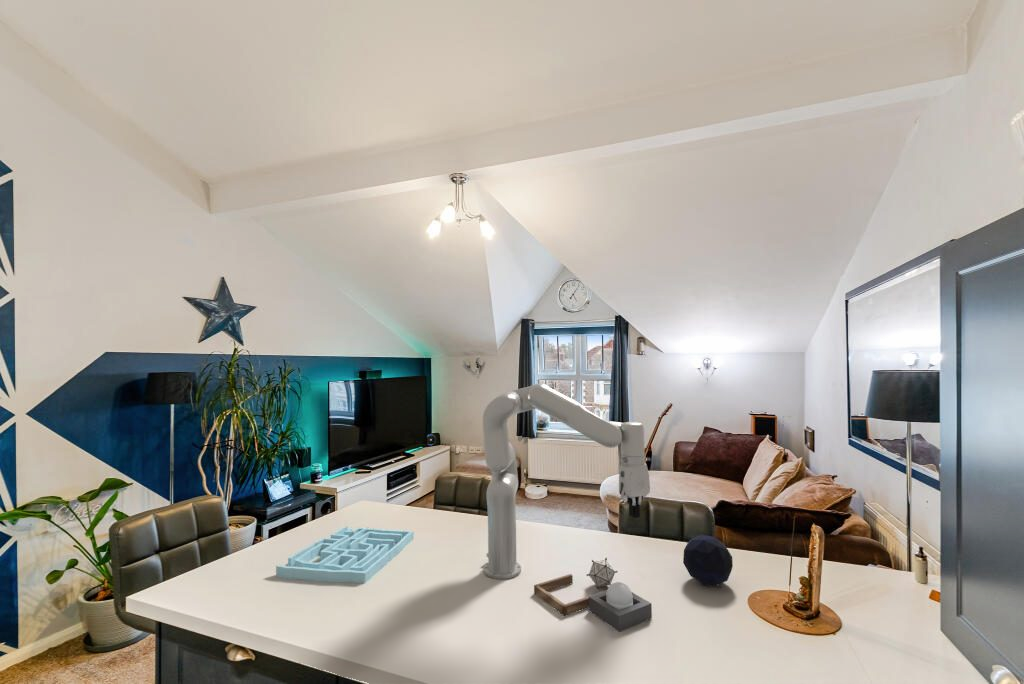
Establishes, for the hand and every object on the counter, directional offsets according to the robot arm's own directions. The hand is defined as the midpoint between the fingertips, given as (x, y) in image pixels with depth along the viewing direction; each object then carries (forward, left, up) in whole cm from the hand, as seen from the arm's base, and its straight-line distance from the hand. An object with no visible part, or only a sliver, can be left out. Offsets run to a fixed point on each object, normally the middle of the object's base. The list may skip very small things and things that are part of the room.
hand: (634, 516), depth 151 cm
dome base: (+14, -21, -19) cm, 32 cm away
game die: (-1, -14, -20) cm, 24 cm away
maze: (-68, -76, -20) cm, 104 cm away
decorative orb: (+15, +16, -20) cm, 29 cm away
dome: (+14, -21, -18) cm, 31 cm away
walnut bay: (-1, -27, -19) cm, 33 cm away
